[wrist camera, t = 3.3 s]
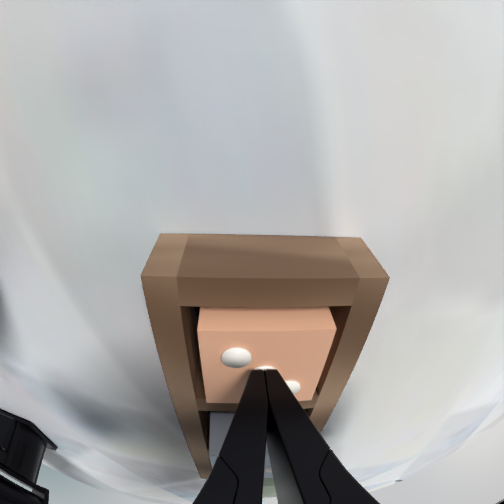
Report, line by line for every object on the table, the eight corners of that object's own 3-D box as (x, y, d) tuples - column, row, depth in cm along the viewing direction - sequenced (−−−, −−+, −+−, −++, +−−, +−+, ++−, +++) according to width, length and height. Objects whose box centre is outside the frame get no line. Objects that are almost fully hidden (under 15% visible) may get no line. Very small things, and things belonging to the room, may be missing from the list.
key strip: (289, 450, 20) (293, 476, 17) (202, 451, 19) (201, 478, 17) (360, 237, 10) (389, 277, 8) (160, 233, 10) (140, 275, 7)
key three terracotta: (302, 358, 12) (311, 402, 10) (209, 359, 12) (206, 405, 10) (320, 284, 10) (337, 331, 8) (203, 284, 10) (197, 333, 8)
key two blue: (287, 442, 14) (292, 478, 12) (215, 444, 13) (214, 480, 11) (300, 410, 12) (307, 454, 10) (210, 412, 11) (208, 458, 9)
